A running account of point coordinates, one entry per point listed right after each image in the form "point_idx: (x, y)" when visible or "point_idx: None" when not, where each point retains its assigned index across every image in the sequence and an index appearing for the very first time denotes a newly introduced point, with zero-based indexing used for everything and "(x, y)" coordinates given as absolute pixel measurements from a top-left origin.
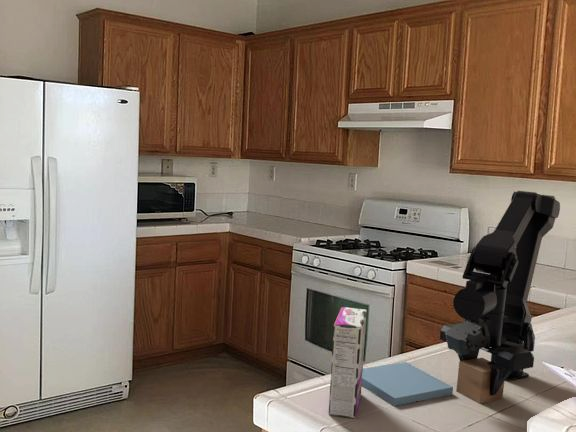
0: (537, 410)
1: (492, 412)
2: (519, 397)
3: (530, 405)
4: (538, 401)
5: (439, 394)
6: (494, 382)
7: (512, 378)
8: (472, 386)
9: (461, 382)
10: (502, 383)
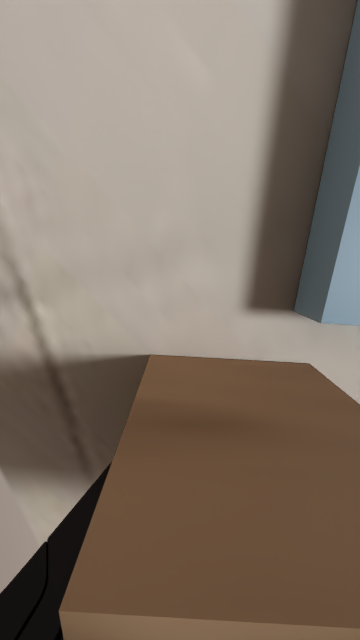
0: (18, 501)
1: (50, 334)
2: None
3: (61, 512)
4: None
5: (326, 201)
6: (58, 528)
7: None
8: (214, 399)
9: (315, 398)
10: None
